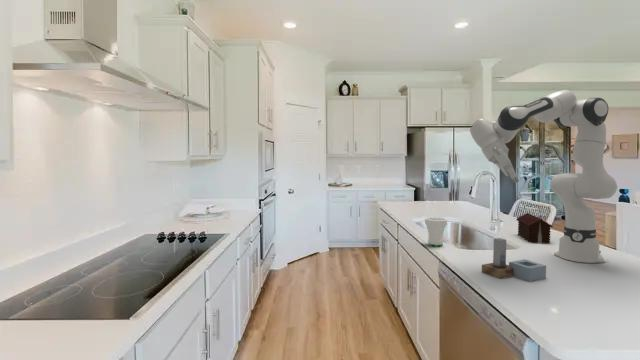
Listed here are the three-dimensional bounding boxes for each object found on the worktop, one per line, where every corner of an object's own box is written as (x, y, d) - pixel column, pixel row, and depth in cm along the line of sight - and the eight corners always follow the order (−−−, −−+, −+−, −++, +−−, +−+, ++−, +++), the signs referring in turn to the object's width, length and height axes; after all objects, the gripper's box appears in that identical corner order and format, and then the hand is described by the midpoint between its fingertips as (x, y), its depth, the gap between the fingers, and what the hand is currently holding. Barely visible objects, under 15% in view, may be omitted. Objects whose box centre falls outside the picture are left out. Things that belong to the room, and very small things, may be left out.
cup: (420, 243, 193) (420, 217, 192) (437, 241, 197) (437, 216, 196) (433, 248, 182) (433, 221, 181) (451, 246, 186) (451, 219, 185)
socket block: (481, 271, 146) (481, 264, 146) (497, 268, 149) (497, 261, 149) (500, 278, 137) (500, 271, 137) (517, 275, 141) (517, 268, 141)
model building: (551, 244, 191) (552, 216, 190) (528, 243, 193) (528, 215, 192) (537, 235, 211) (538, 210, 210) (515, 234, 213) (516, 209, 212)
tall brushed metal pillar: (492, 273, 144) (493, 238, 143) (498, 271, 145) (499, 238, 145) (499, 275, 141) (500, 240, 140) (505, 274, 143) (506, 239, 142)
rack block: (508, 274, 142) (509, 262, 142) (524, 271, 146) (524, 259, 146) (529, 281, 134) (530, 268, 134) (545, 278, 138) (546, 265, 137)
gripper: (500, 140, 139) (521, 169, 133) (506, 154, 156) (525, 180, 150) (485, 149, 142) (505, 178, 136) (492, 162, 158) (511, 188, 152)
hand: (516, 179), depth 143 cm, fingers open, 8 cm apart
